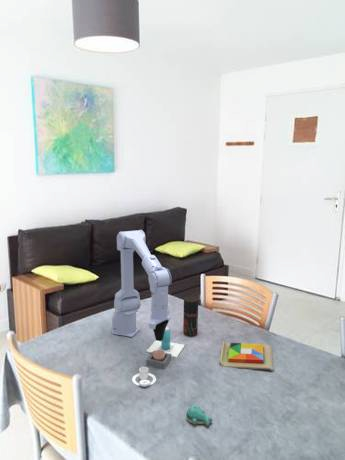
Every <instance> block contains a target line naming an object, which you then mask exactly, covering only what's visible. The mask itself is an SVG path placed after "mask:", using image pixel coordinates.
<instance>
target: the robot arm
mask: <svg viewBox="0 0 345 460" xmlns="http://www.w3.org/2000/svg"><path fill="white" fill-rule="evenodd" d="M116 249H117V251H120V275H121V276H120V279H121V280H120V281H121V283H120V284H121V288H120V289H119V290H118V291H117V292H116V293H115V294H114V301H113V307H114V311H113V314H112V318H111V319H112V322H111V323H112V327H111V329H112V331H111V334H112V335H118V336H123V337H128V338H129V337H130V338H133V337H134V336H135V335H136V334H137V333H139V330H140V328H139V327H137V313H138V312H139V309H141V305H142V304H141V299H140V292H138V290H136V289H135V287H134V286H135V284H134V283H135V282H134V252H136V253H137V254H138V256H139V257H140V258H141V260H142V261H141V266H142V267H143V269H144V271H145V272H146V274H147V275H148V278H147V279H148V280H147V281H148V284H149V291H150V292H151V308H150V309H151V314H150V319H149V320H150V321H149V325H148V328H149V329H150V330H152V332H153V333H154V337H155V341H156V340H157V341H162V340H163V337H164V332H165V329H166V327H168V324H169V322H170V320H171V318H172V316H171V315H169V314H170V308H168V307H169V286H170V285H171V284H172V274H171V272H170V270H169V268H166V267H165V266H164V267H163V266H162V264H161V262H160V261H159V260H158V258H157V257H156V255H154V254H151V251H150V250H149V248H148V246H147V244H146V234H145V231H143V230H142V229H139V230H128V231H127V230H126V231H119V232H118V234H117V235H116Z"/></svg>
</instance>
